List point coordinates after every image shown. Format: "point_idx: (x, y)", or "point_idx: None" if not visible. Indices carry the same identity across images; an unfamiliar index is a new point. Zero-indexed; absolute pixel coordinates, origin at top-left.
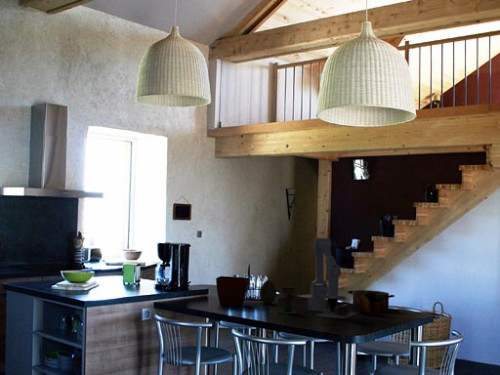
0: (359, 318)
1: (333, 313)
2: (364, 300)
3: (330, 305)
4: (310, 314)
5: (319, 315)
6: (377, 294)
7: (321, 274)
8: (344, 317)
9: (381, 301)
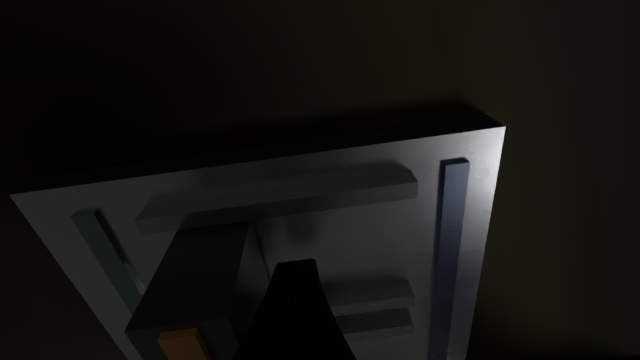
0: (4, 334)
1: None
2: None
3: (322, 353)
4: (619, 169)
5: (467, 121)
6: None
7: None
8: (30, 185)
9: None
